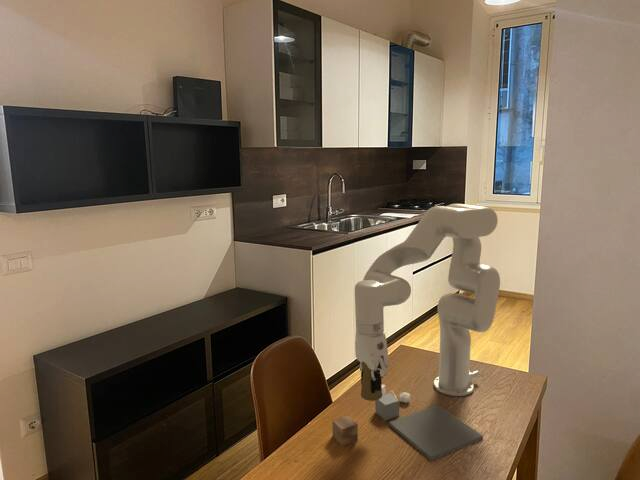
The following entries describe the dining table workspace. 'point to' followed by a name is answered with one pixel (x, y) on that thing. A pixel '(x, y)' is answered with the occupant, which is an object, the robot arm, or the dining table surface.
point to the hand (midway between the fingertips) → (371, 387)
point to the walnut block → (345, 430)
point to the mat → (435, 432)
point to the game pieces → (403, 397)
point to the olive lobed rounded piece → (368, 385)
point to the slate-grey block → (387, 406)
